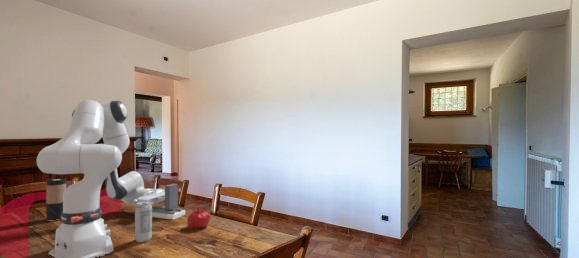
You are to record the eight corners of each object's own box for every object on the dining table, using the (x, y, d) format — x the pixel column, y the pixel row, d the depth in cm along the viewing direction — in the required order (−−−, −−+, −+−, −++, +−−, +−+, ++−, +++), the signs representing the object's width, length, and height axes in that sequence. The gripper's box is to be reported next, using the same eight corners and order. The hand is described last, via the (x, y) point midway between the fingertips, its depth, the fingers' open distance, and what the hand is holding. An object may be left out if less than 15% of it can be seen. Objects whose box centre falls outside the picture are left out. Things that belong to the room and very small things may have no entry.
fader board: (185, 214, 143) (185, 208, 143) (173, 219, 135) (173, 213, 135) (153, 210, 150) (153, 204, 150) (140, 215, 141) (140, 209, 141)
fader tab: (179, 210, 143) (179, 184, 143) (171, 213, 137) (171, 186, 137) (171, 209, 144) (171, 183, 144) (163, 212, 138) (163, 185, 139)
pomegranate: (203, 231, 119) (203, 210, 119) (182, 229, 121) (182, 209, 121) (213, 223, 129) (214, 204, 129) (194, 222, 131) (195, 202, 131)
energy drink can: (147, 236, 114) (148, 200, 114) (154, 239, 110) (154, 202, 110) (132, 240, 109) (132, 203, 109) (138, 244, 105) (138, 205, 105)
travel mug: (57, 221, 131) (57, 180, 131) (41, 221, 131) (41, 180, 131) (70, 216, 139) (70, 177, 139) (55, 216, 139) (55, 177, 139)
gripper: (130, 195, 136) (152, 197, 131) (161, 187, 155) (181, 189, 151) (130, 208, 136) (152, 210, 131) (161, 198, 155) (181, 200, 151)
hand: (168, 199), depth 141 cm, fingers closed
